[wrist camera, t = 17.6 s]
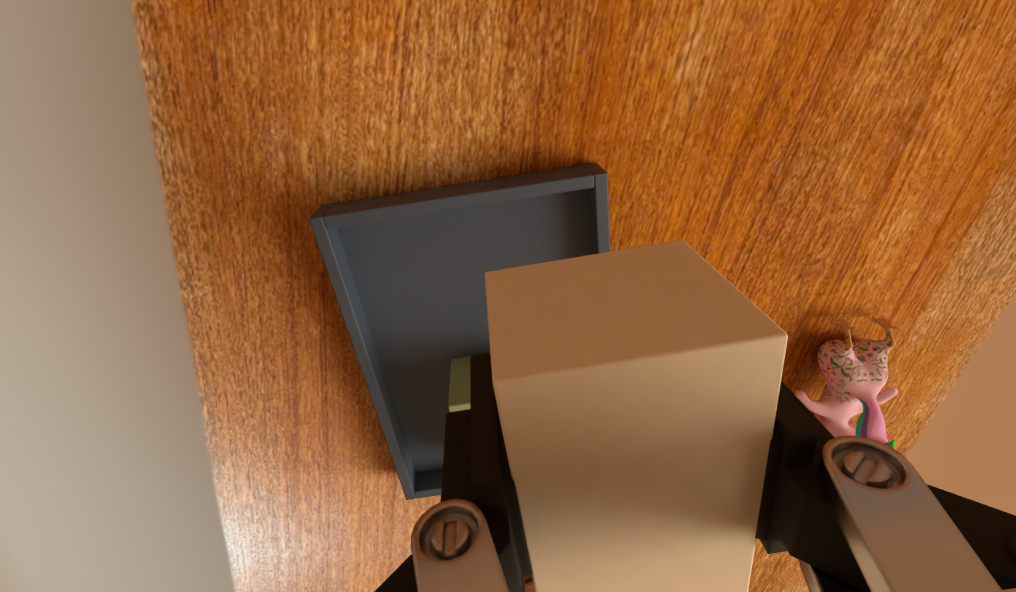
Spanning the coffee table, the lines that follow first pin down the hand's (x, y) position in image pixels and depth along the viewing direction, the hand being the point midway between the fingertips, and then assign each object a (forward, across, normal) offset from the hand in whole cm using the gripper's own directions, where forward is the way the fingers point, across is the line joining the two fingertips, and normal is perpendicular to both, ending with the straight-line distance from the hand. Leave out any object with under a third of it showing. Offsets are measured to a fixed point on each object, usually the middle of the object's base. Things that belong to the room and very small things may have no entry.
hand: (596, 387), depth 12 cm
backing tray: (+13, +3, +7) cm, 15 cm away
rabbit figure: (+13, -16, +16) cm, 26 cm away
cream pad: (0, 0, 0) cm, 0 cm away
